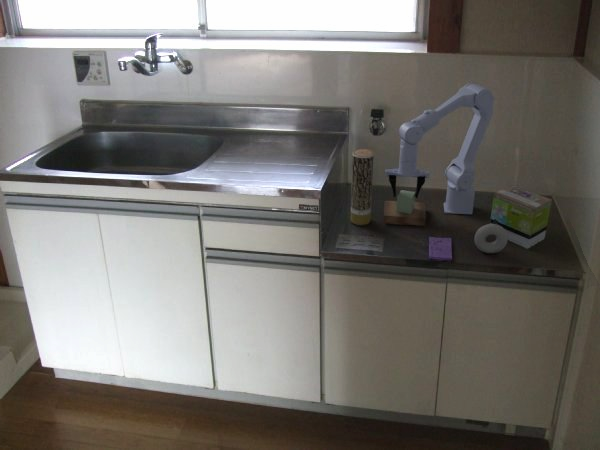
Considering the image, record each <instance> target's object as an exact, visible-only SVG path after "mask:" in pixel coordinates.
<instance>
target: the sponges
mask: <svg viewBox="0 0 600 450" xmlns="http://www.w3.org/2000/svg"><path fill="white" fill-rule="evenodd" d="M428 238H429V239H428V259H429V260H430V259H439V260H438V261H443V260H452V261H453V256H452V255H453V252H452V238H451V237H443V238H442V237H435V236H429V237H428Z"/></svg>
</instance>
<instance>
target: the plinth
mask: <svg viewBox="0 0 600 450" xmlns="http://www.w3.org/2000/svg"><path fill="white" fill-rule="evenodd" d="M383 206H384V207H383V223H382V224H385V225H403V226H422V227H423V226H424V227H425V226H426V223H427V222H426V221H427V220H426V219H427V214H426V202H423V201H415V206H414V209H413V211H412V213H411V214H407V213H401V212H396V210H397V200H384V203H383Z"/></svg>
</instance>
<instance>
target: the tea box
mask: <svg viewBox="0 0 600 450" xmlns="http://www.w3.org/2000/svg"><path fill="white" fill-rule="evenodd" d="M552 202H553V199H551V198H548V197H546V196H543V195H540V194H538V193H535V192H532V191H530V190H527V189H524V188H522V187H519V186H517V185H516V186H515V185H513V184H510V185H509V186H506V187H504V188H503V189H501V190H500V189H499V191H497V192H494V194H493V200H492V207H491V214H490V219H489V224H497V225H499V226H501V227H503V228H504V229H505V230H506V232H507V235H508V241H509V242H511V243H514V244H516V245H518V246H520V247H523V248H524V249H526V250H528V249H530V248H532V247H533V246H536V244H537V245H538V244H539V243H540V242H542V241H544V240H545V237H546V233H547V227H548V224H549V223H548V222H549V219H550V213H551V208H552V207H551V206H552ZM538 242H539V243H538ZM531 246H532V247H531Z"/></svg>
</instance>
